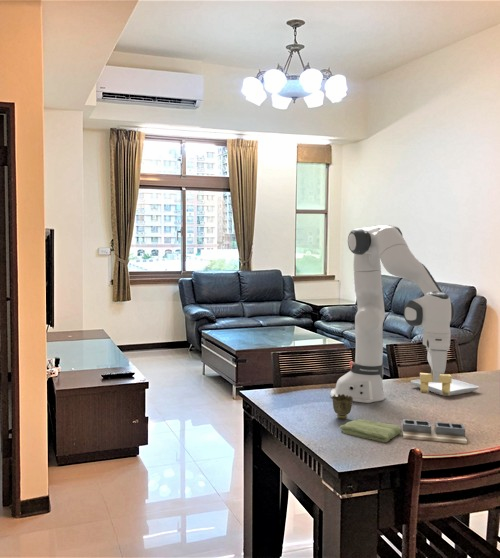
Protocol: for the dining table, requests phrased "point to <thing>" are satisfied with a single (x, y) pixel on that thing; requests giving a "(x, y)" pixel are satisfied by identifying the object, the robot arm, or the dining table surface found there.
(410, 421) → the chain ends
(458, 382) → the salad plate
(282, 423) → the dining table surface
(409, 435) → the chain board
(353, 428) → the washcloth
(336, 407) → the cup
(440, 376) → the tan bar
